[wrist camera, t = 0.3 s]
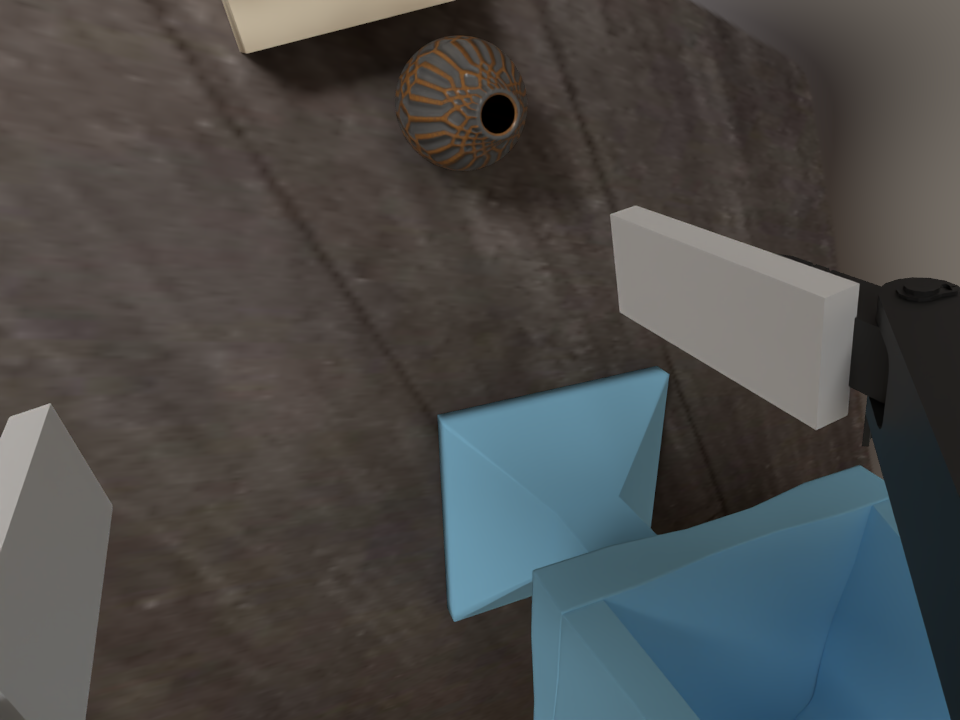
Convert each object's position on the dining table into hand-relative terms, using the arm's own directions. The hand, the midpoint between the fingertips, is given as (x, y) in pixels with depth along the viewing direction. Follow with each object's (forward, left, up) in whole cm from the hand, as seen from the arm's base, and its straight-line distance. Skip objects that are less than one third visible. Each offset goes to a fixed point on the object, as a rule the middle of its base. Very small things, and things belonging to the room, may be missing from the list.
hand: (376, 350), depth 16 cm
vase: (-1, +11, -27) cm, 29 cm away
